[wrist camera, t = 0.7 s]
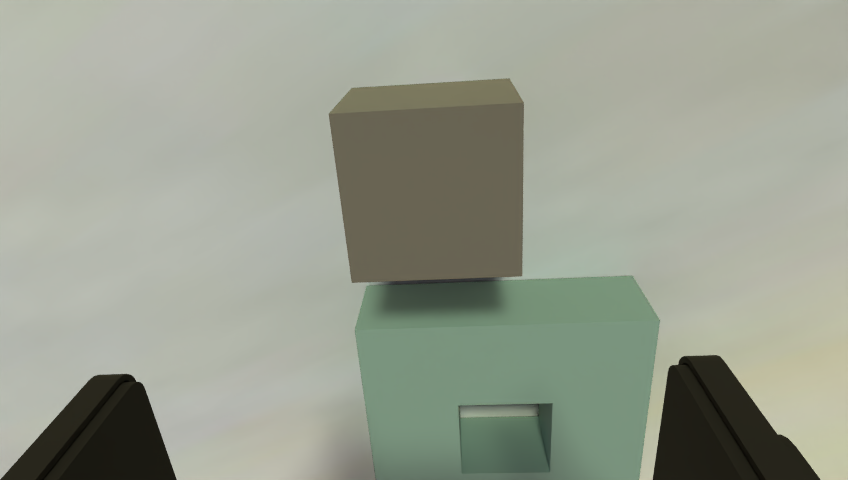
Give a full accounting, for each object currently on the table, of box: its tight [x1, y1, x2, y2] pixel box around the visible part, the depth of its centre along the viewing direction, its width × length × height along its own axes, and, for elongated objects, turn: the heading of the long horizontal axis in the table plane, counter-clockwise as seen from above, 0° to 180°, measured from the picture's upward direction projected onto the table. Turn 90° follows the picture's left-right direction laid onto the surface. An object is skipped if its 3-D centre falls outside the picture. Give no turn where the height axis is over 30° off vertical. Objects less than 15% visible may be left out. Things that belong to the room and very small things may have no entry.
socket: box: [355, 276, 660, 480], centre depth 33 cm, size 15×15×4 cm
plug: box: [329, 79, 524, 283], centre depth 24 cm, size 7×7×9 cm
